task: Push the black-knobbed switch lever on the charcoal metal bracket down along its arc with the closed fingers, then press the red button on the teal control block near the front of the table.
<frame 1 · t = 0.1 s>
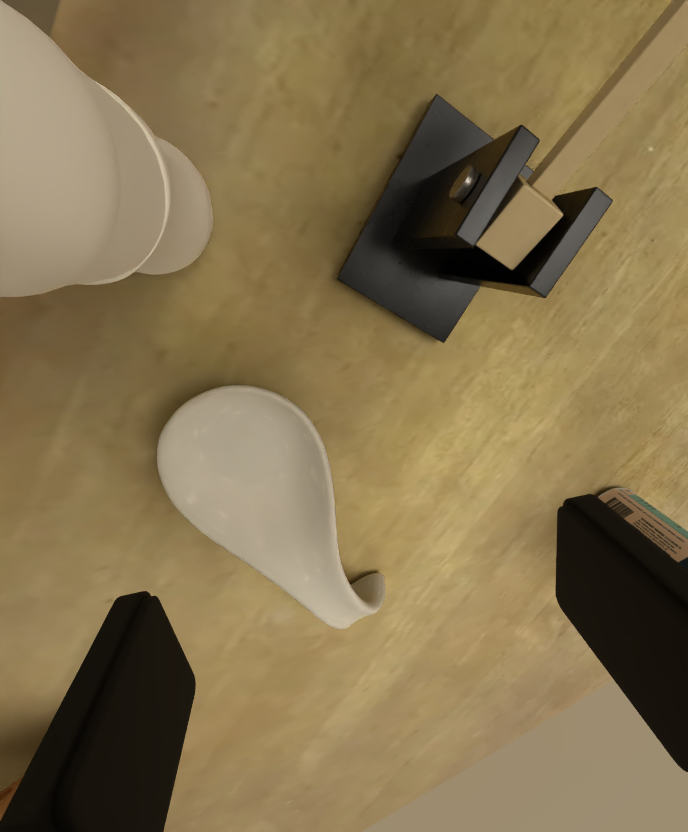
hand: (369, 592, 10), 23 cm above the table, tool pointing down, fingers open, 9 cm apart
bowl: (100, 746, 44), on the table
switch lever: (619, 95, 15), point 13 cm above the table, hinge at 25.0°
water bottle: (163, 212, 26), on the table
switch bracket: (435, 232, 28), on the table
spoon rest: (292, 495, 35), on the table
beer can: (607, 505, 39), on the table
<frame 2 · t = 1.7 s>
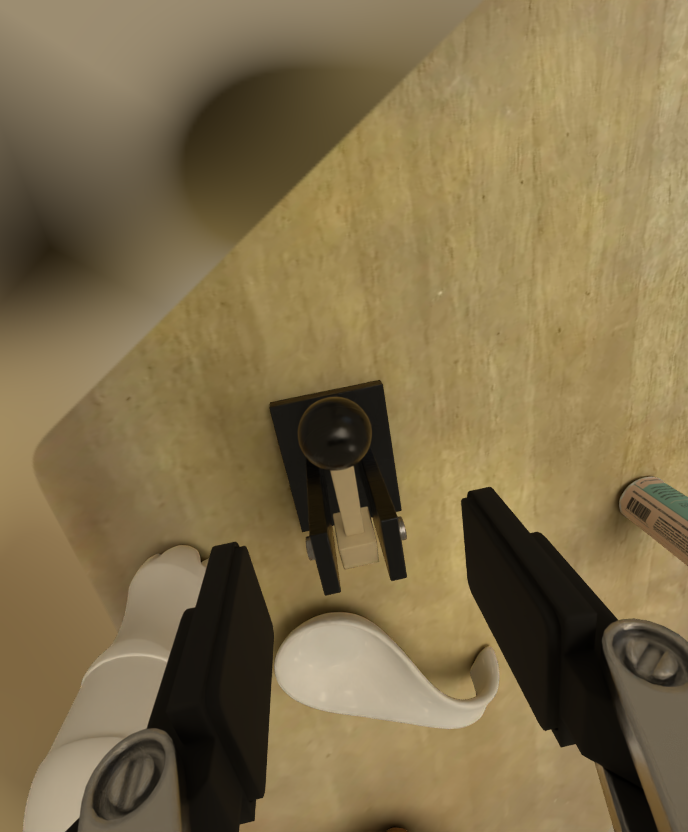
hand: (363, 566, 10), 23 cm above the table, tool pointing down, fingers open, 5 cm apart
bowl: (393, 828, 58), on the table
switch lever: (347, 493, 22), point 13 cm above the table, hinge at 25.0°
water bottle: (183, 566, 38), on the table
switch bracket: (338, 456, 35), on the table
spoon rest: (386, 640, 44), on the table
beer can: (637, 494, 41), on the table
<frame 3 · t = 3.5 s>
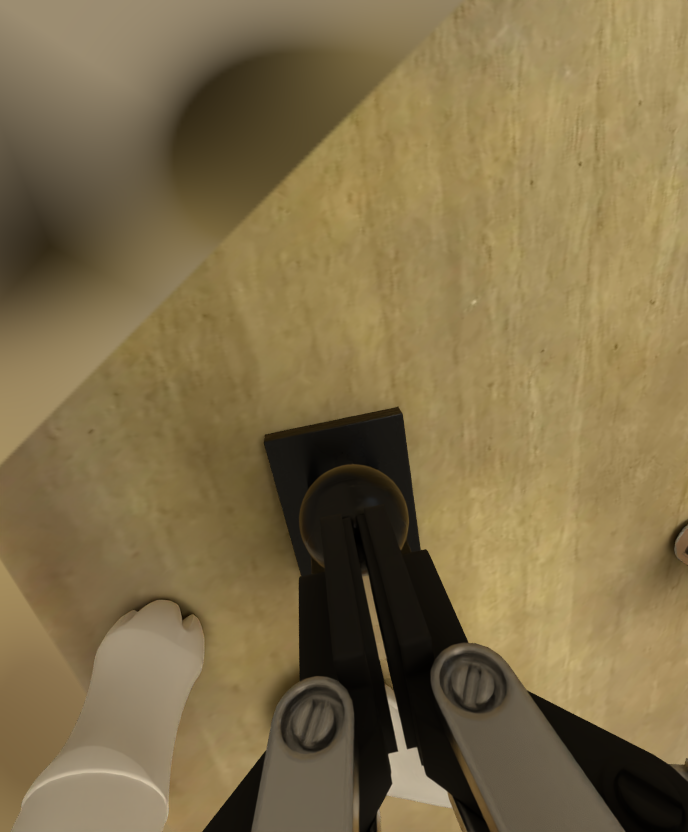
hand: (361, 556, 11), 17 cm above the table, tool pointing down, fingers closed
switch lever: (366, 582, 16), point 13 cm above the table, hinge at 24.2°, touching gripper
water bottle: (164, 623, 32), on the table
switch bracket: (347, 496, 30), on the table
spoon rest: (399, 698, 39), on the table
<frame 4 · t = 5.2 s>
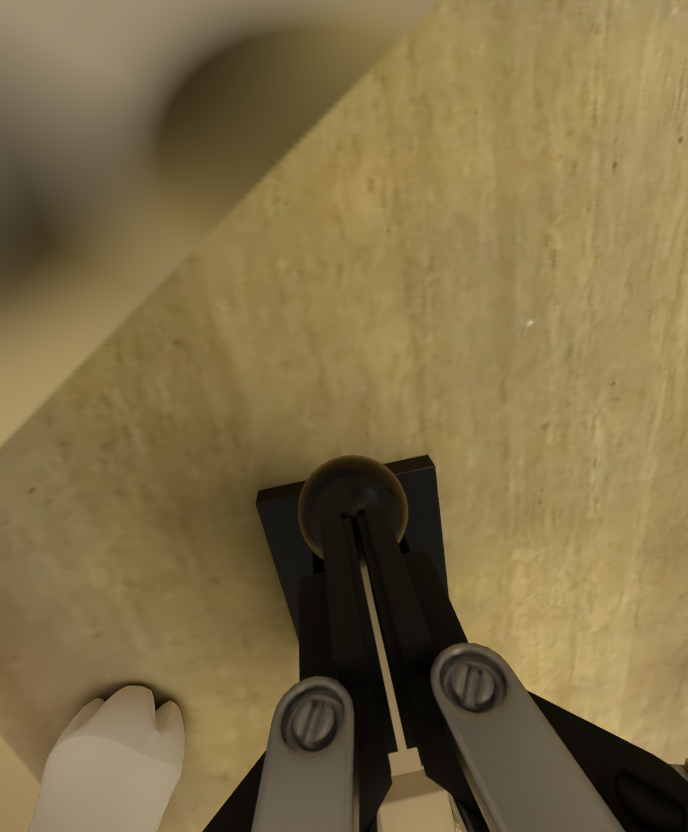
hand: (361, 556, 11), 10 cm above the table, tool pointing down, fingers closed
switch lever: (383, 658, 13), point 10 cm above the table, hinge at -14.2°, touching gripper
water bottle: (136, 709, 26), on the table
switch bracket: (361, 561, 24), on the table
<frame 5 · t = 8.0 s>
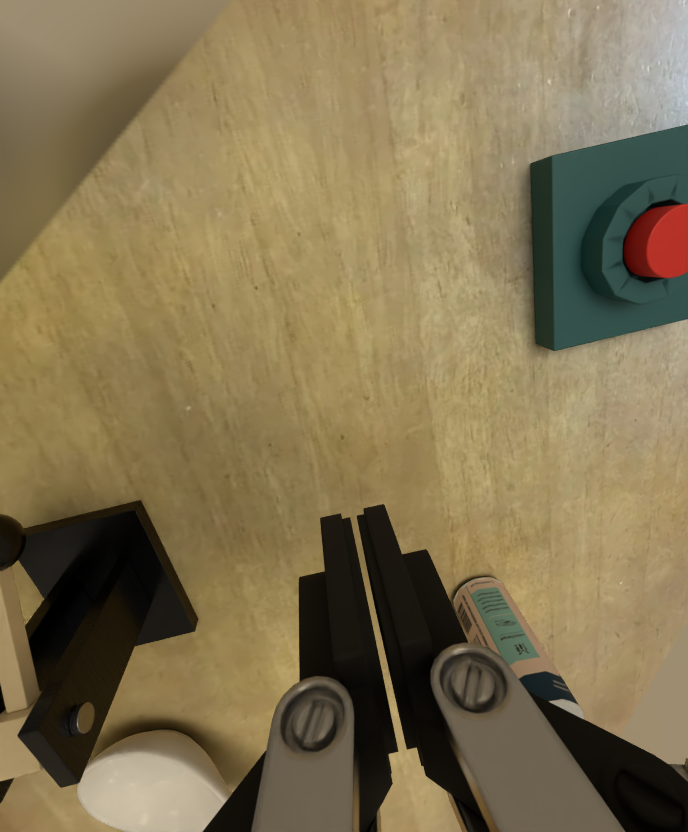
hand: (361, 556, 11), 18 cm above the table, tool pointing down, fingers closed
button: (665, 242, 22), point 4 cm above the table, slide at 0.1 cm
button block: (608, 243, 27), on the table
switch lever: (8, 635, 22), point 9 cm above the table, hinge at -23.7°
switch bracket: (114, 578, 32), on the table
spoon rest: (223, 749, 41), on the table
beer can: (476, 592, 37), on the table
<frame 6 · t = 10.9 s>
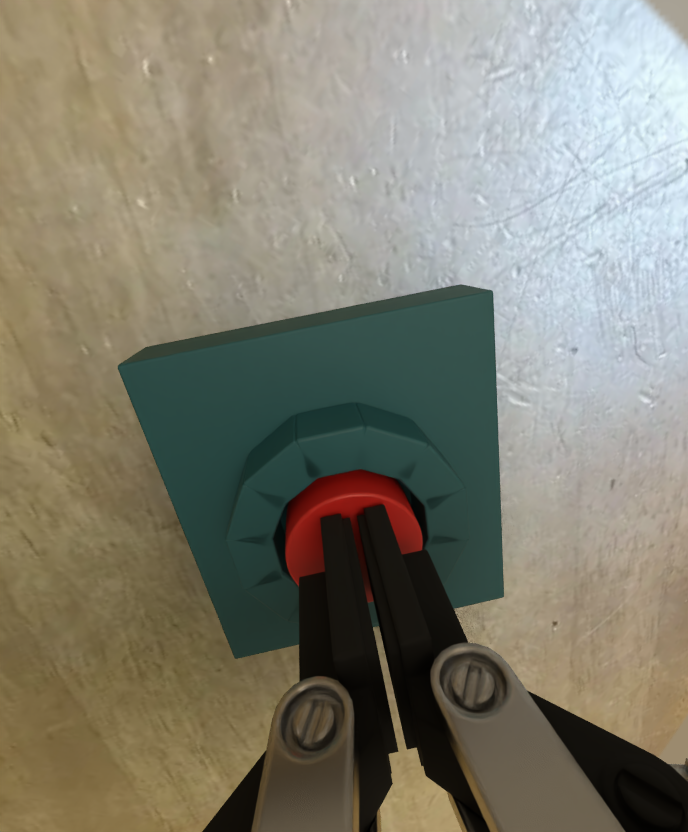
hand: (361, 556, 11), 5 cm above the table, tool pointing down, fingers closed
button: (351, 532, 11), point 4 cm above the table, slide at -0.7 cm, touching gripper
button block: (337, 468, 15), on the table
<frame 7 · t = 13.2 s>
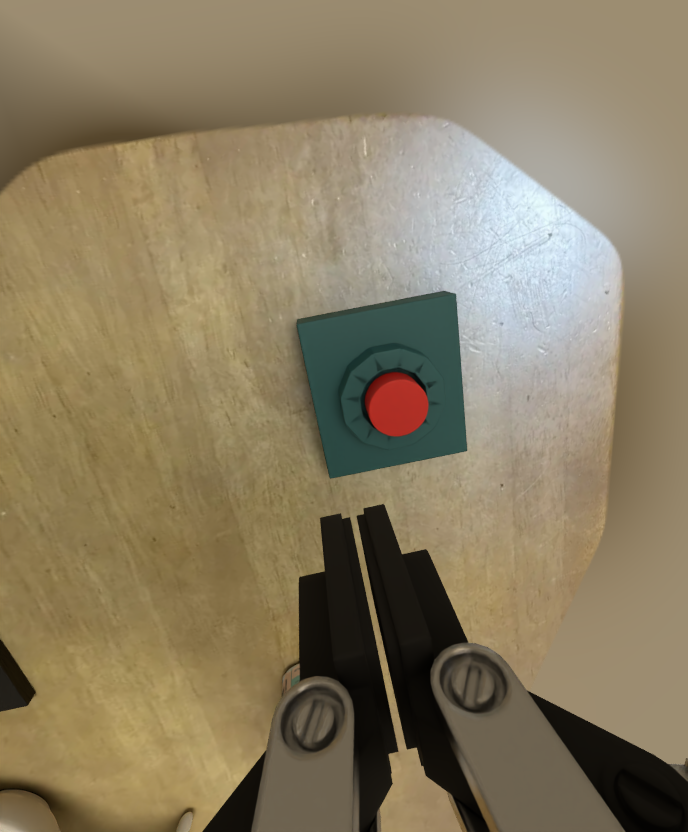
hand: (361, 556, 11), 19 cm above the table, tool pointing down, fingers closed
button: (395, 404, 25), point 4 cm above the table, slide at 0.1 cm
button block: (382, 383, 29), on the table
spoon rest: (76, 807, 43), on the table
beer can: (308, 673, 39), on the table
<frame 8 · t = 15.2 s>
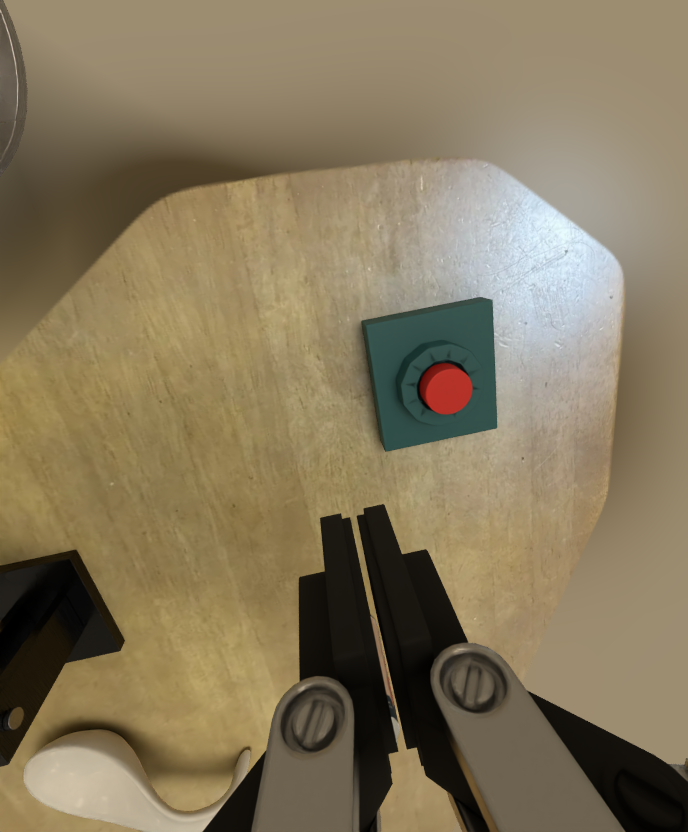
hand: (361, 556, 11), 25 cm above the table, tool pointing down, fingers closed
button: (445, 388, 32), point 4 cm above the table, slide at 0.1 cm
button block: (428, 372, 36), on the table
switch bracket: (56, 607, 40), on the table
spoon rest: (149, 747, 49), on the table
beer can: (354, 624, 46), on the table
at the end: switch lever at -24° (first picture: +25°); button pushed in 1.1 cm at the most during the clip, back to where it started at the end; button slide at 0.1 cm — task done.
